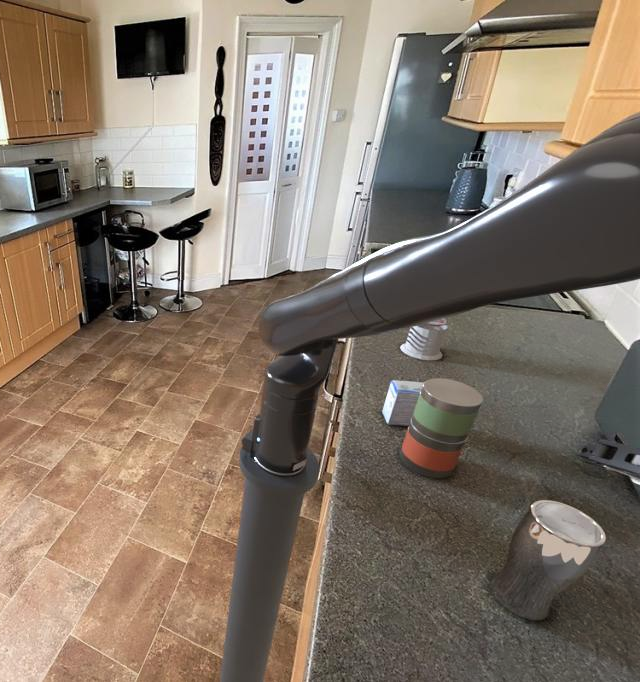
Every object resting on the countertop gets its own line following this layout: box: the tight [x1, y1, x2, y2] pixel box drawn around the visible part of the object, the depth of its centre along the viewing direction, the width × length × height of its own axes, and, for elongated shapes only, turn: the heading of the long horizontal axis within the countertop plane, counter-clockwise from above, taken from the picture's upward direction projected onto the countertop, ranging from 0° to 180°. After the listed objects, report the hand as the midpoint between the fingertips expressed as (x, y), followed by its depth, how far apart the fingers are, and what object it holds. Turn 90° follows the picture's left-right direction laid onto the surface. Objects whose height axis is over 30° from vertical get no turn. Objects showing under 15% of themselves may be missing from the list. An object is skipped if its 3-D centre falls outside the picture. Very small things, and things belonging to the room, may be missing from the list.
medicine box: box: [382, 379, 424, 427], centre depth 89 cm, size 8×4×9 cm, turn 77°
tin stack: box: [399, 377, 484, 479], centre depth 77 cm, size 9×9×16 cm
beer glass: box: [490, 499, 607, 621], centre depth 55 cm, size 7×7×15 cm
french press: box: [399, 318, 449, 361], centre depth 112 cm, size 10×12×25 cm
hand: (622, 469), depth 49 cm, fingers open, 8 cm apart
